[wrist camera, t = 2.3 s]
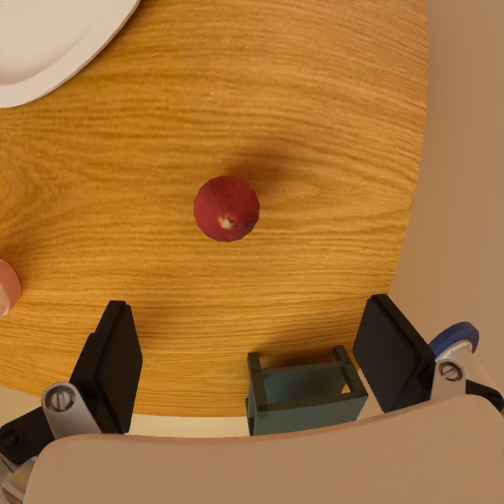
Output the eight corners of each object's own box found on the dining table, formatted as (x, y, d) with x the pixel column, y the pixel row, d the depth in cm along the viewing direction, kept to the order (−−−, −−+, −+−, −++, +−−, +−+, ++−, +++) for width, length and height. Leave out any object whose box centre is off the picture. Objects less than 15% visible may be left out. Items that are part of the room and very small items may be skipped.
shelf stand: (343, 345, 40) (369, 395, 31) (326, 394, 45) (343, 440, 36) (247, 353, 38) (257, 412, 29) (245, 403, 43) (252, 454, 34)
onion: (264, 185, 29) (280, 208, 22) (238, 234, 31) (245, 270, 24) (212, 160, 27) (210, 173, 20) (187, 211, 29) (178, 242, 22)
